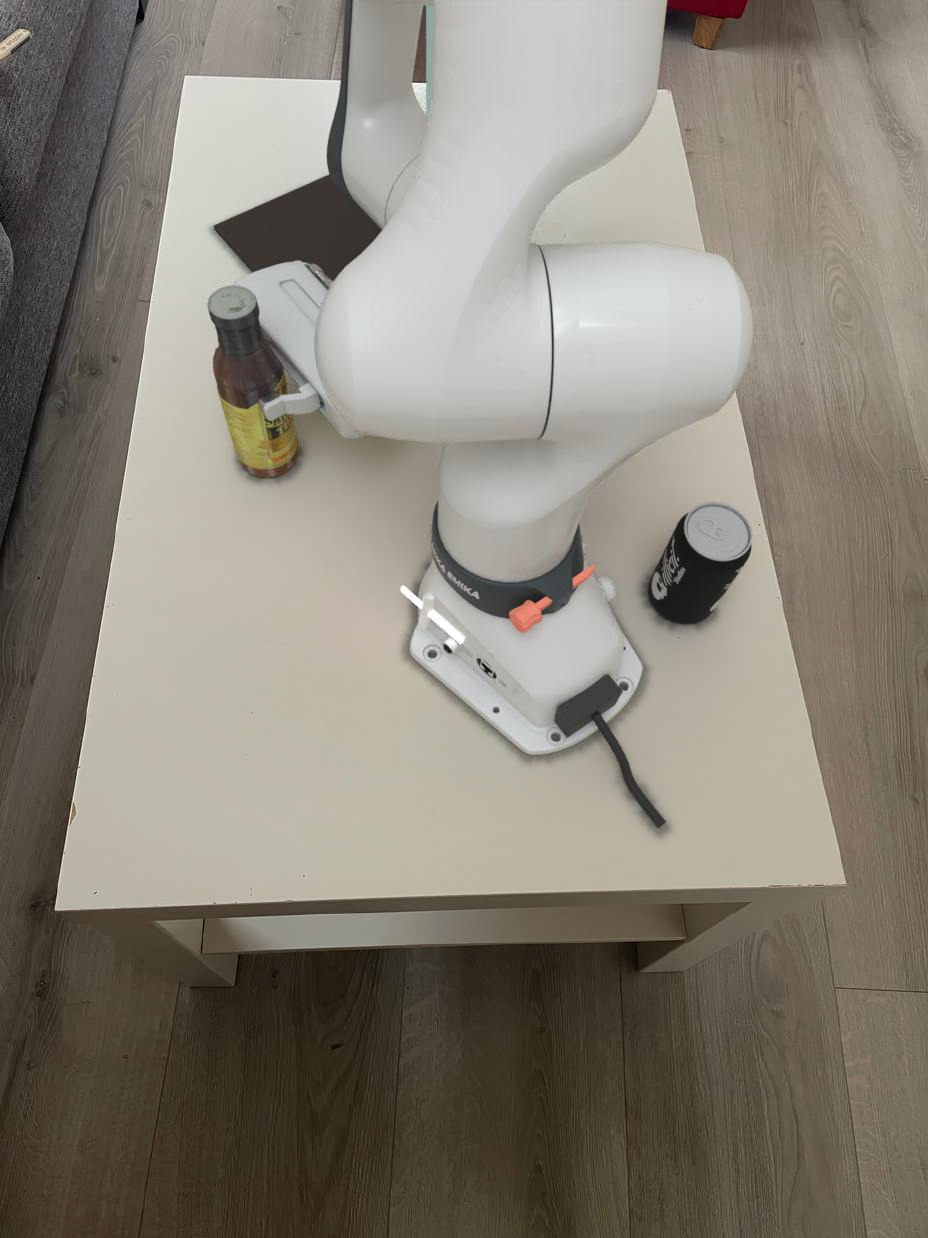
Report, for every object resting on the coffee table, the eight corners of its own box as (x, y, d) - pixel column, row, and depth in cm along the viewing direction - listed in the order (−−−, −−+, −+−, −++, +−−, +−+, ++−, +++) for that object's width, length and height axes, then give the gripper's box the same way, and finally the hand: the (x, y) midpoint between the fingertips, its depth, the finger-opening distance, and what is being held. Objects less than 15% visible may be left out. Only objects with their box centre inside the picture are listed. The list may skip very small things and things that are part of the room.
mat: (449, 260, 101) (449, 256, 100) (305, 332, 95) (305, 328, 94) (354, 167, 107) (354, 162, 107) (214, 229, 101) (213, 225, 101)
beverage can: (692, 640, 80) (733, 578, 69) (633, 601, 81) (664, 535, 71) (726, 592, 82) (772, 524, 72) (668, 555, 84) (704, 484, 73)
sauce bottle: (289, 486, 86) (255, 341, 68) (229, 474, 86) (179, 327, 68) (308, 435, 89) (279, 283, 71) (249, 424, 89) (206, 270, 71)
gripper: (304, 229, 82) (175, 288, 78) (430, 362, 75) (296, 434, 71) (312, 281, 87) (192, 339, 83) (430, 409, 81) (306, 479, 77)
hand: (241, 384), depth 77 cm, fingers closed on sauce bottle, 6 cm apart
